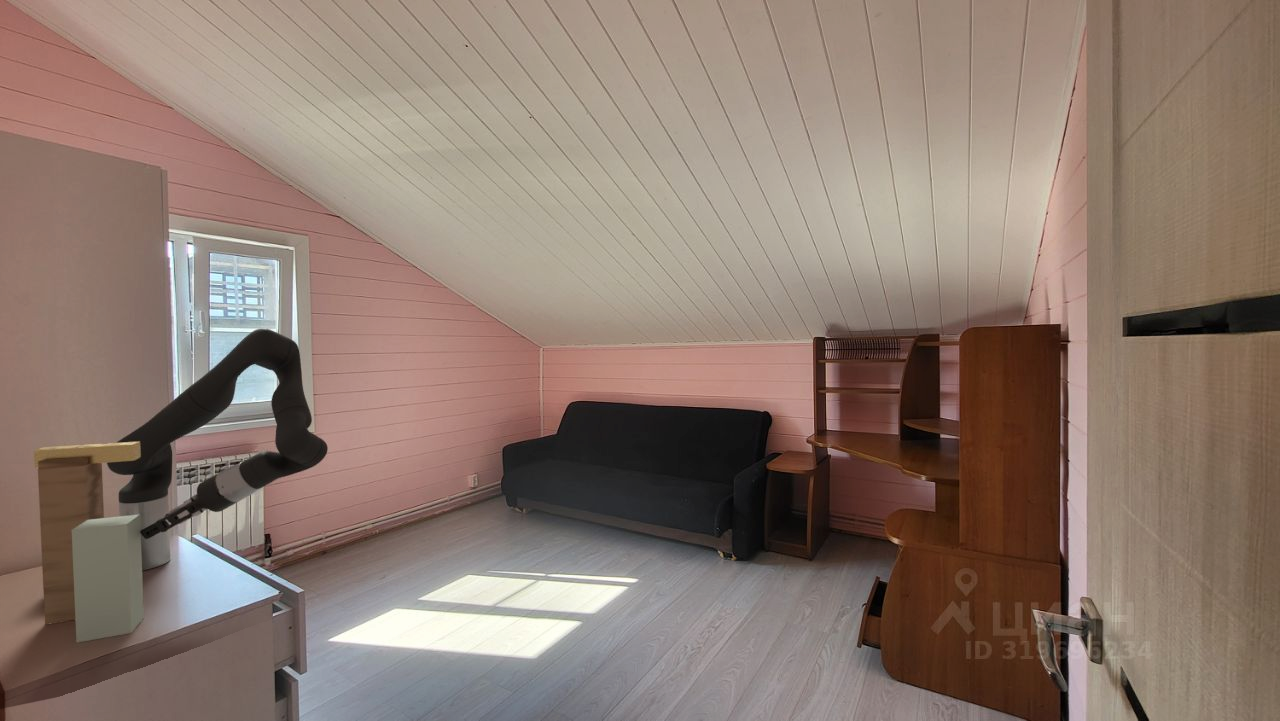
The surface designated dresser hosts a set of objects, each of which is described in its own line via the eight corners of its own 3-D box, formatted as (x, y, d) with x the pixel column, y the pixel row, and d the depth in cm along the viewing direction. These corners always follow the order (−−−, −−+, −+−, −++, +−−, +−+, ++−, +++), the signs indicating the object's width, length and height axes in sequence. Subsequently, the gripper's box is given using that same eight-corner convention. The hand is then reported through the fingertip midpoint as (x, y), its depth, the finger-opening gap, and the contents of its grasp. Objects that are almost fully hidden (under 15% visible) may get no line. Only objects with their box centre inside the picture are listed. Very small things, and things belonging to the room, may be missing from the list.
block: (92, 627, 107) (87, 519, 106) (143, 618, 111) (139, 514, 110) (76, 642, 102) (71, 529, 101) (131, 633, 105) (127, 523, 104)
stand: (64, 608, 114) (57, 454, 113) (107, 601, 117) (101, 451, 116) (45, 624, 108) (37, 461, 106) (91, 617, 111) (84, 458, 109)
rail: (44, 463, 111) (44, 447, 110) (140, 457, 117) (140, 441, 117) (34, 467, 108) (33, 450, 107) (133, 460, 114) (133, 444, 114)
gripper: (235, 463, 123) (164, 501, 120) (203, 482, 110) (122, 526, 107) (255, 489, 125) (185, 527, 122) (225, 512, 111) (146, 555, 108)
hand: (156, 526), depth 114 cm, fingers open, 8 cm apart
